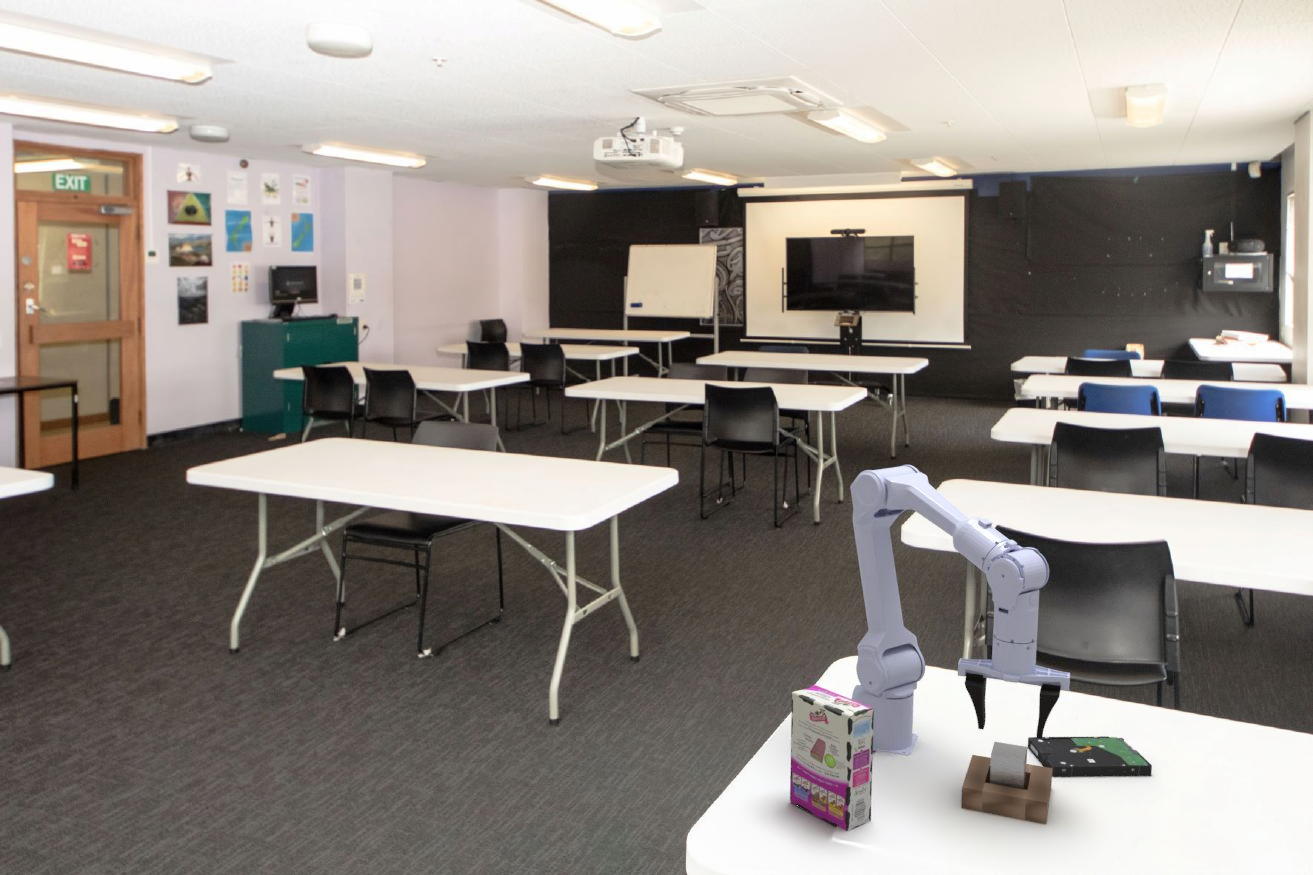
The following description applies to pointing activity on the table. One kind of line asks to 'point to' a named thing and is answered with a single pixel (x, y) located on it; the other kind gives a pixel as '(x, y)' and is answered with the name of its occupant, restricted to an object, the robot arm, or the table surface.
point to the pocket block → (1007, 792)
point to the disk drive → (1089, 756)
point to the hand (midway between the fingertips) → (1010, 730)
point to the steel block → (1008, 765)
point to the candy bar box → (831, 756)
